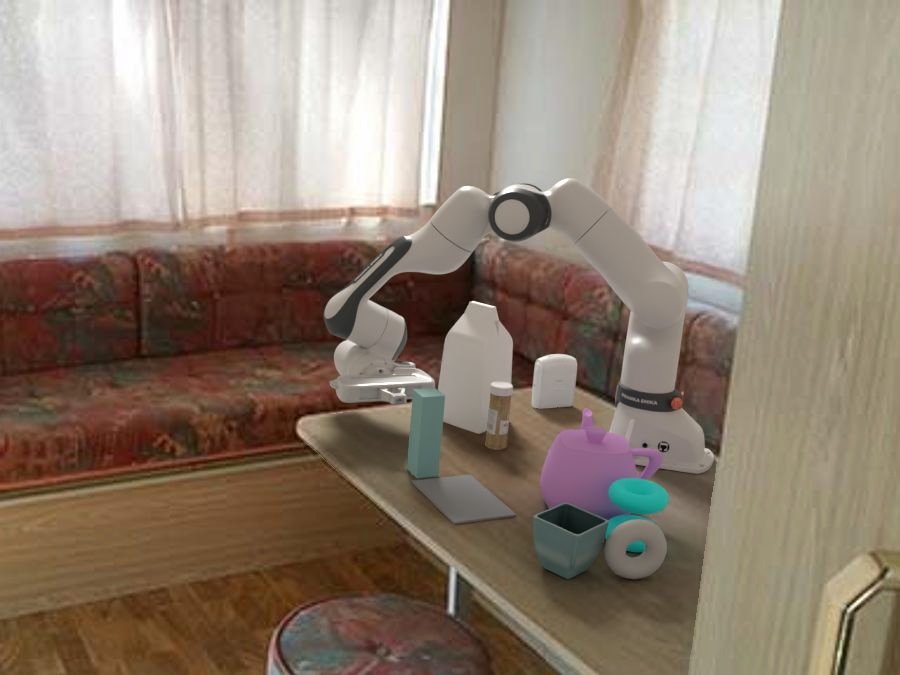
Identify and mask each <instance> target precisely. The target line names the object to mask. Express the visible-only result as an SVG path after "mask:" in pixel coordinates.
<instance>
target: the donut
mask: <svg viewBox="0 0 900 675" xmlns="http://www.w3.org/2000/svg"><path fill="white" fill-rule="evenodd" d="M655 524H656V523H655ZM655 524H653V523H651V522H649V521H646V520H641V519H636V520H629V521H626V522H624V523H622V524H620V525H618V526H617V527H616V528H615V529H614V530H613V531H612V532H611V533H610V535H609V536H608V538H607V540H605V541H606V542H605V543H604V547H603V548H604V549H603V550H604V559H605V561H606V564H607V567H609V568H610V570H611V571H612V572H614V574H615V575H618V576H619V577H621V578H623V579H629V580H638V579H644V578H646V577H648V576H650V575H652V574H653V573H655V572H656V571H657V570H659V568H660V567H661V566H662V564H663V563H664V561H665V558H666V555H667V552H668V547H667V546H668V544H667V540H666V536H665V534H664V532H663V530H660V529H661V528H660V526H659V525H657V524H656V525H655ZM659 528H660V529H659ZM635 541H642V542H644V543H645V550H644V552H641V554H639V555H638V556H634V557H631V556H628V554H627V551H626V549H627V547H628V546H629V545H630V544H631V543H633V542H635Z"/></svg>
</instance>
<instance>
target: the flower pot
mask: <svg viewBox="0 0 900 675" xmlns="http://www.w3.org/2000/svg"><path fill="white" fill-rule="evenodd" d="M608 524H609V520H607V519H604V518H602V517H600V516H597V515H595V514H593V513H590V512H588V511H586V510H583V509H581V508H579V507H576V506H574V505H572V504H569V503H562V504H559V505H557V506H555V507H553V508H551V509H549V508H548V509H546V510H543V511H542V512H539V513H537V514H535V515H533V544H534V545H533V547H534V551H535V554H536V556H537V558H538V560H539V562H540V564H541V567H543V568H544V569H545V570H548V571H550V572H551V573H553V574H556V575H558V576H560V577H561V578H563V579H567V580H570V579H572V578H574V577H575V576H578V575H580V574H581V573H584V572H585V571H587V570H588V568H590V567H591V565H592V564H593V563H594V562H595V560H596V559H597V557H598V555H599V554H600V552H601V550H602V548H603V544H604V541H605V539H606V538H605V535H606V531H607V528H608Z"/></svg>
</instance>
